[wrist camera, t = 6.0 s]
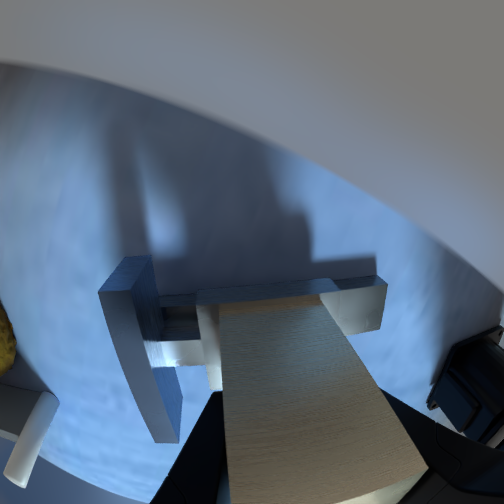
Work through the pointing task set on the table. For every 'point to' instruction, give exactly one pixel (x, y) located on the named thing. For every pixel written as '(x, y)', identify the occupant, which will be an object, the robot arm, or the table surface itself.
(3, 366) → the fruit
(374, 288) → the rail
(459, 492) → the robot arm
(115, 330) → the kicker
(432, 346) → the table surface
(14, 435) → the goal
